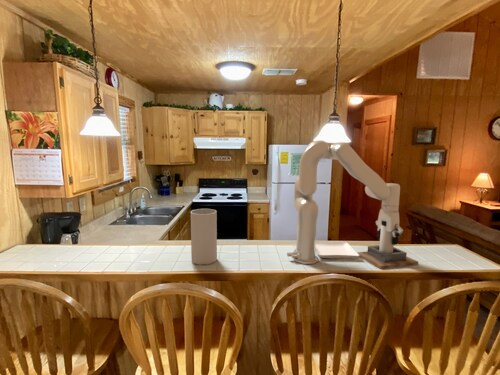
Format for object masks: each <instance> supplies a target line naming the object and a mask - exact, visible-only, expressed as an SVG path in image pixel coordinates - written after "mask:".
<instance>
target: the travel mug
mask: <svg viewBox="0 0 500 375" xmlns="http://www.w3.org/2000/svg"><path fill="white" fill-rule="evenodd" d="M386 223H387V221H382V223H381V234H380V239H379V245H380V247H379V251H381V252H383V253H385V254H387V253H393V247H395V245H392V237H393V235H392V232H387V231H386ZM394 233H395V232H394ZM395 234H396V233H395Z"/></svg>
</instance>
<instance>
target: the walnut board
mask: <svg viewBox="0 0 500 375" xmlns="http://www.w3.org/2000/svg"><path fill="white" fill-rule="evenodd" d="M356 252H357V253H358V254H359V255H360V256H359V257H358V258H360V259H362V260H363V261H366V262H367V263H369V264H370V265H372V266H374V267H376V268H378V270H386V269H387V270H388V269H393V268H401V267H410V266H419V261H418V260H416V259H413V258H411V257H409V256H407V255H406V261H398V262H389V263H384V262H382V261H380V260H378V259H376V258H375V257H373V256H371V255H369V254H367V253H368V250H367V251H359V252H358V251H356Z"/></svg>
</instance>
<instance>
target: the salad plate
mask: <svg viewBox="0 0 500 375" xmlns="http://www.w3.org/2000/svg"><path fill="white" fill-rule="evenodd" d="M357 252H358V251H356V249H354V248H353V247H352V246H351V245H350V244H349V243H348V242H347V241H337V240H335V241H331V240H330V241H329V240H328V241H327V240H316V250H315V253H316V254H317V257H318V258H322V259H343V260H344V259H345V260H346V259H351V260H352V259H357V258H360V257H359V256H360V255H359V254H358V253H357Z"/></svg>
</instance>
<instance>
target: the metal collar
mask: <svg viewBox="0 0 500 375" xmlns="http://www.w3.org/2000/svg"><path fill="white" fill-rule="evenodd" d="M379 247H380V244H378V245H369V246H367V251H368V253H367V254H369V255H371V256H373V257H375V258H376V259H378V260H380V261H382V262H384V263H389V262H398V261H406V256H407V252H405V251H404V250H401V249H399V248H397V247H395V246H393V253H387V254H385V253H383V252H381V251H379Z"/></svg>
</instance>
